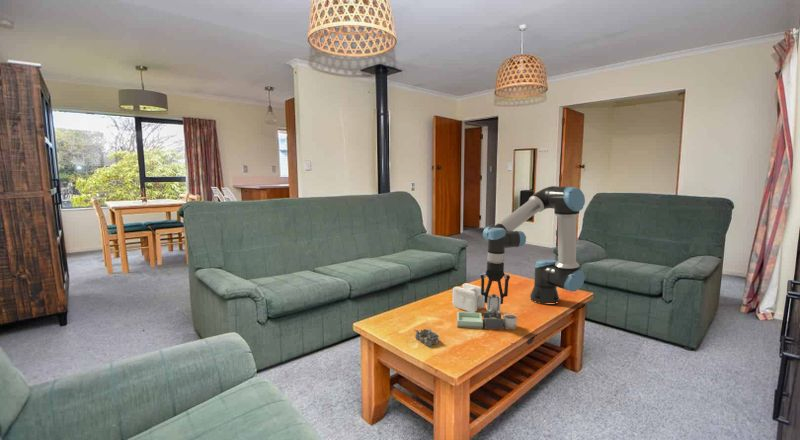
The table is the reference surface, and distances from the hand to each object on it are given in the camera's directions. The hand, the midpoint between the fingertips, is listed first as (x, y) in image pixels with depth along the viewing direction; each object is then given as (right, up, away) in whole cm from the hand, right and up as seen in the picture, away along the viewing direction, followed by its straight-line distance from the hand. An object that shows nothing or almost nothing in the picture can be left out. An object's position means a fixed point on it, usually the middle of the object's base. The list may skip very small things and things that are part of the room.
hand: (493, 309), depth 172 cm
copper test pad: (0, -5, +1) cm, 5 cm away
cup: (+7, -8, -1) cm, 11 cm away
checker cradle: (0, -7, +1) cm, 8 cm away
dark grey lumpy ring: (-32, -10, -15) cm, 37 cm away
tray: (-11, -7, +4) cm, 13 cm away
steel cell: (0, -3, 0) cm, 3 cm away
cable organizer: (-7, -5, +22) cm, 24 cm away
